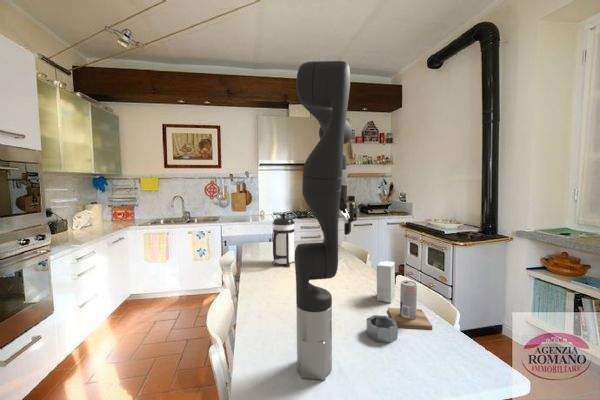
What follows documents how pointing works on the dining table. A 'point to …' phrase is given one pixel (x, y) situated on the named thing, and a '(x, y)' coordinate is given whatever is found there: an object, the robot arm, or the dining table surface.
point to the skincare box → (386, 281)
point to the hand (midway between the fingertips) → (335, 232)
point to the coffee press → (283, 240)
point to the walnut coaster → (418, 322)
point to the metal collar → (382, 329)
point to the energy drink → (408, 299)
